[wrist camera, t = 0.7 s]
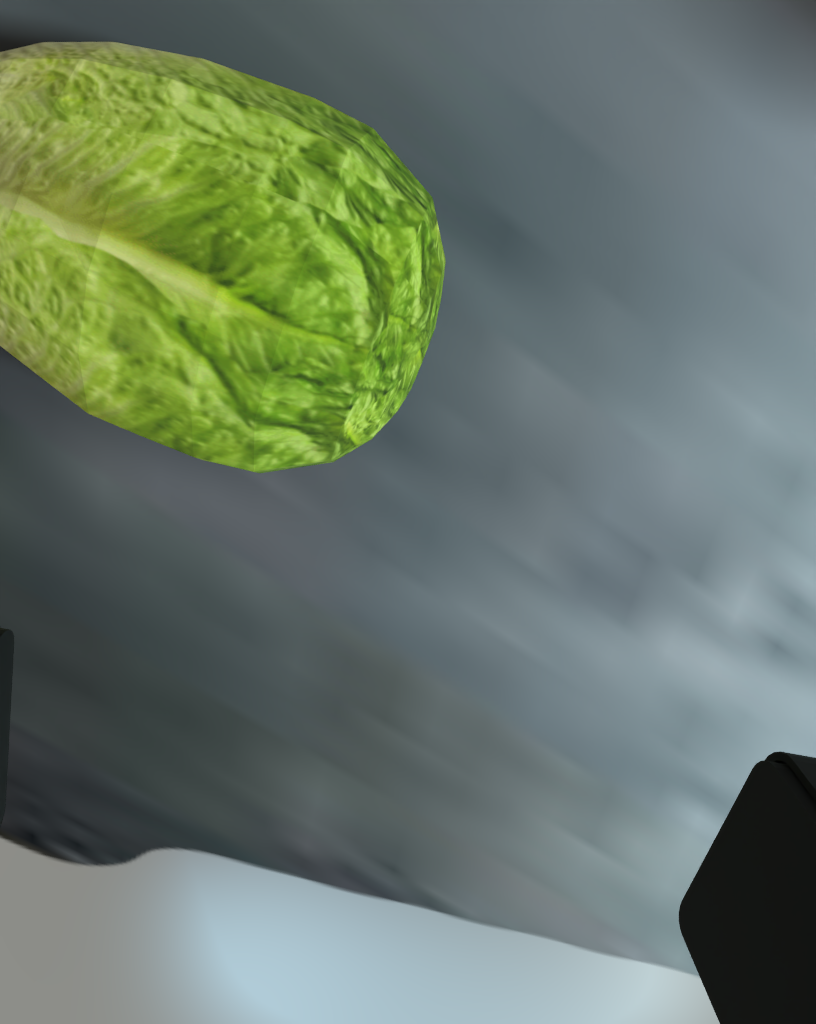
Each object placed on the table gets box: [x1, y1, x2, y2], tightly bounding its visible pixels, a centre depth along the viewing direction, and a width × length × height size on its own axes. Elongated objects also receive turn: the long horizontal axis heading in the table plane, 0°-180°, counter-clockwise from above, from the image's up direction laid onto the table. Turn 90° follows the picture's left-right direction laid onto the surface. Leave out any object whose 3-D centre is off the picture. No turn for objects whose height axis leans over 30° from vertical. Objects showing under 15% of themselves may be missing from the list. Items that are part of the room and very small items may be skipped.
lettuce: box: [0, 42, 445, 473], centre depth 28 cm, size 13×22×14 cm
